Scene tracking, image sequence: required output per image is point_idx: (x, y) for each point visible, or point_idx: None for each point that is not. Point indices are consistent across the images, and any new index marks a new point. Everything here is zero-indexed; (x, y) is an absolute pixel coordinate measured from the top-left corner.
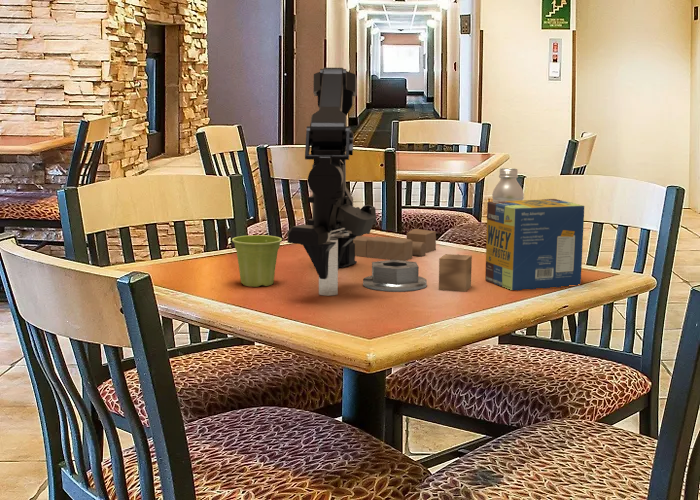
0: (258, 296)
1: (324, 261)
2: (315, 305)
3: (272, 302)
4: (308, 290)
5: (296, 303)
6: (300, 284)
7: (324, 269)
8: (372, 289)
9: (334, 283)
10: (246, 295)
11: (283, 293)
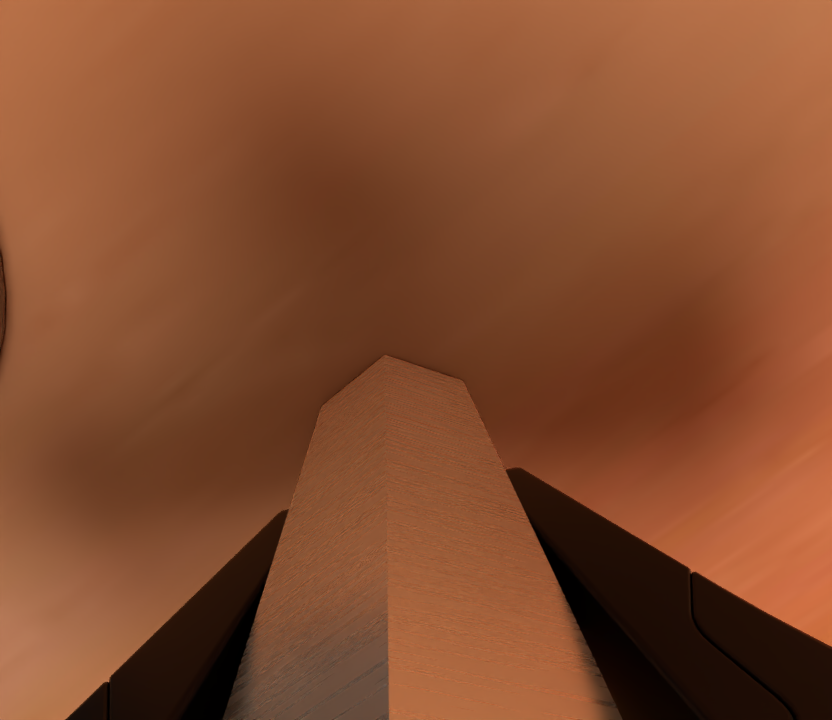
0: None
1: (708, 591)
2: (780, 245)
3: (809, 509)
4: None
5: (776, 389)
6: None
7: (599, 517)
8: (1, 267)
9: (417, 402)
10: None
11: None
